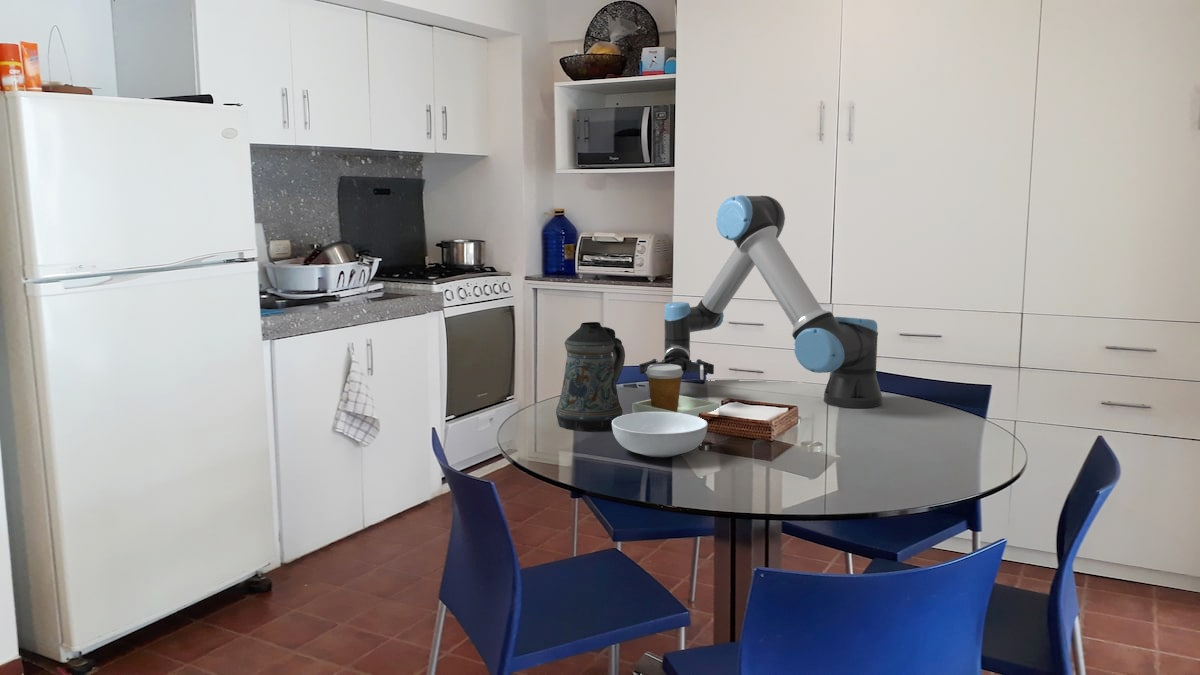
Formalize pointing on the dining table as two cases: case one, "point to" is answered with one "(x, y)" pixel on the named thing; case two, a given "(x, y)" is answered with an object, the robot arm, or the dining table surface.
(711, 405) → the tray
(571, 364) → the beer stein
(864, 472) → the dining table surface
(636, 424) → the serving bowl
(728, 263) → the robot arm
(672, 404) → the disposable coffee cup
